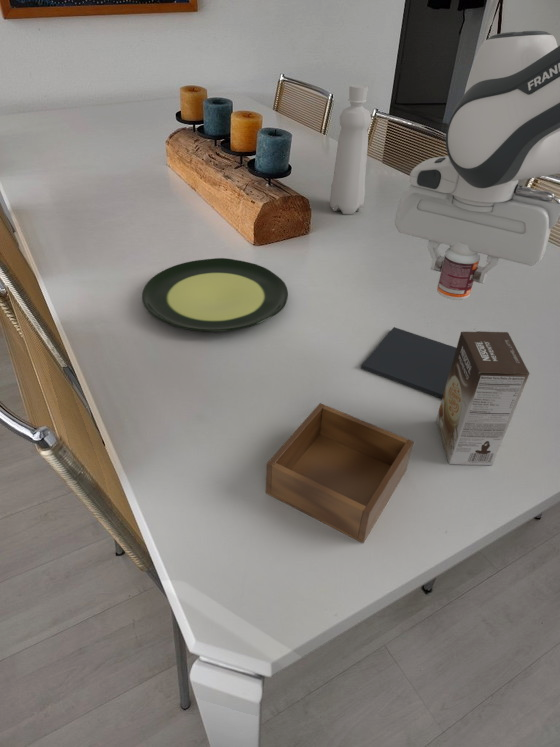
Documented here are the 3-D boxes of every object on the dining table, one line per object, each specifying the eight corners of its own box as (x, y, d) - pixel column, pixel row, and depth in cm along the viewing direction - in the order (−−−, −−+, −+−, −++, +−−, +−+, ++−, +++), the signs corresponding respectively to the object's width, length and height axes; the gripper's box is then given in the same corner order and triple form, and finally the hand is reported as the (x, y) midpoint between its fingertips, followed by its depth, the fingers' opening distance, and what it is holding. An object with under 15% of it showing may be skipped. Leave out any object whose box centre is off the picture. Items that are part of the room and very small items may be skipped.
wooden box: (406, 470, 73) (413, 441, 69) (363, 543, 63) (369, 514, 60) (317, 431, 78) (320, 402, 75) (265, 493, 69) (266, 463, 65)
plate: (150, 269, 116) (148, 258, 114) (280, 267, 119) (280, 256, 117) (135, 343, 94) (133, 331, 92) (295, 338, 97) (296, 327, 95)
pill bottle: (471, 302, 78) (486, 248, 73) (437, 298, 78) (450, 244, 73) (467, 287, 82) (482, 234, 76) (435, 283, 82) (447, 230, 77)
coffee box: (433, 419, 81) (459, 328, 71) (476, 421, 81) (507, 330, 71) (448, 465, 73) (478, 371, 64) (495, 467, 73) (532, 373, 64)
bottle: (369, 209, 148) (385, 86, 129) (351, 218, 142) (365, 91, 124) (340, 201, 152) (352, 81, 134) (322, 210, 146) (332, 85, 128)
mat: (503, 367, 92) (504, 363, 91) (480, 413, 82) (482, 409, 82) (393, 330, 100) (393, 326, 99) (360, 368, 90) (361, 364, 90)
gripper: (571, 188, 68) (536, 286, 76) (416, 157, 76) (399, 249, 84) (563, 202, 63) (526, 305, 72) (399, 169, 72) (383, 264, 80)
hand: (457, 275), depth 78 cm, fingers closed on pill bottle, 5 cm apart
